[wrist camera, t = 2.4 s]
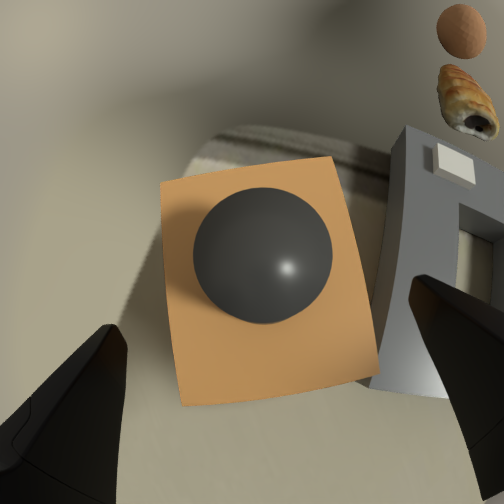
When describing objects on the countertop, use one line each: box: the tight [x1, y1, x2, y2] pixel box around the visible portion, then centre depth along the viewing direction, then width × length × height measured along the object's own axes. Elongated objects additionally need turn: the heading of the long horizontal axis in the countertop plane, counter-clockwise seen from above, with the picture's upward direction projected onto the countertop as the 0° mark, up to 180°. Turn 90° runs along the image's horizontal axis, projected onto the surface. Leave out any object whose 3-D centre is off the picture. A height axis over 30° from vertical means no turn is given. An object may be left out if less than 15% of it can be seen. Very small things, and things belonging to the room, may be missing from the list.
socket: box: [356, 125, 504, 398], centre depth 14 cm, size 16×14×4 cm
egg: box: [436, 4, 486, 59], centre depth 19 cm, size 6×6×8 cm
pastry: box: [437, 64, 499, 141], centre depth 19 cm, size 9×7×4 cm
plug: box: [160, 156, 380, 406], centre depth 10 cm, size 4×4×13 cm
